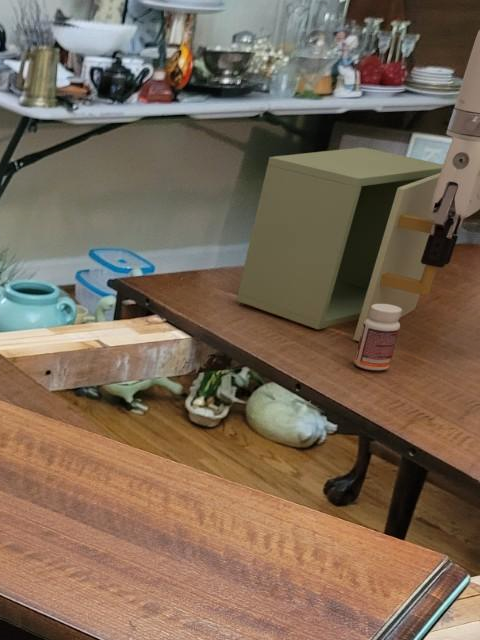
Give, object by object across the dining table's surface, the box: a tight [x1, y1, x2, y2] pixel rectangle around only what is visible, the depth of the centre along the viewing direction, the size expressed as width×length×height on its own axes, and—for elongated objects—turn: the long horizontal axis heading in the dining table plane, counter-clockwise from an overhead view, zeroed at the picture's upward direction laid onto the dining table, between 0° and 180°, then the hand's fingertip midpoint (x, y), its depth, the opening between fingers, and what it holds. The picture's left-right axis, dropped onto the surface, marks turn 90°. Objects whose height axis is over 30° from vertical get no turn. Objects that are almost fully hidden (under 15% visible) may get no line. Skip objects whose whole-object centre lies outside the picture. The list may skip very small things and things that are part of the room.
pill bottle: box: [353, 304, 402, 371], centre depth 155 cm, size 5×5×8 cm
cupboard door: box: [352, 173, 440, 342], centre depth 166 cm, size 8×24×22 cm, turn 138°
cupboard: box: [236, 146, 444, 330], centre depth 176 cm, size 16×24×22 cm, turn 125°
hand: (434, 262), depth 157 cm, fingers closed on cupboard door
